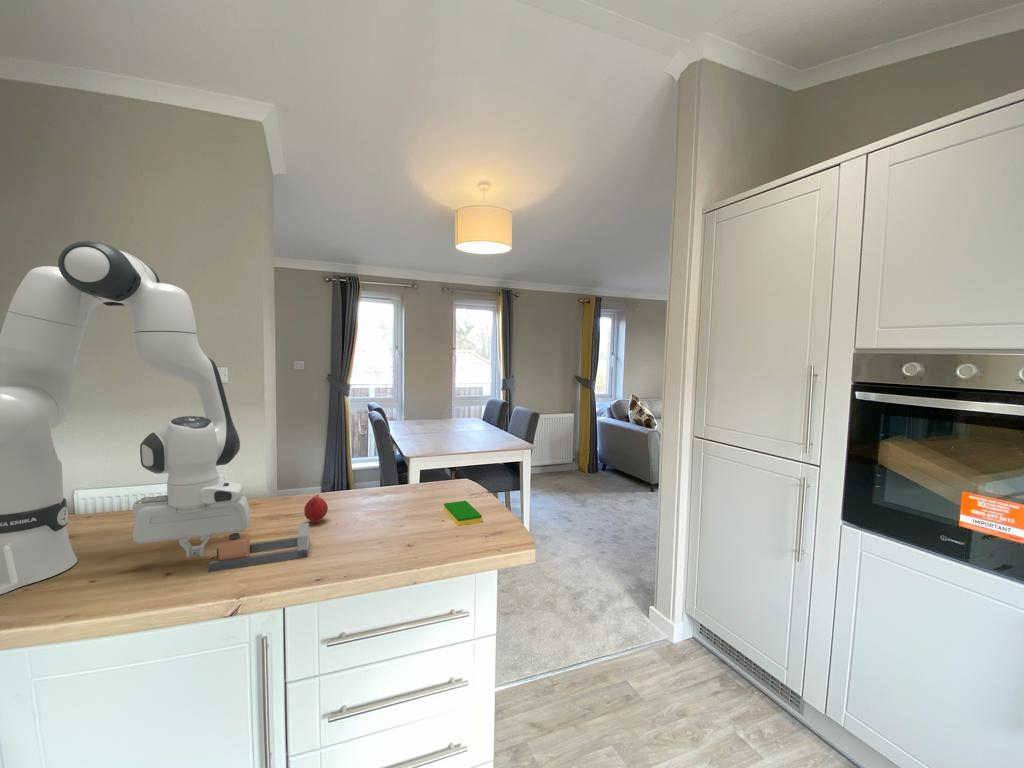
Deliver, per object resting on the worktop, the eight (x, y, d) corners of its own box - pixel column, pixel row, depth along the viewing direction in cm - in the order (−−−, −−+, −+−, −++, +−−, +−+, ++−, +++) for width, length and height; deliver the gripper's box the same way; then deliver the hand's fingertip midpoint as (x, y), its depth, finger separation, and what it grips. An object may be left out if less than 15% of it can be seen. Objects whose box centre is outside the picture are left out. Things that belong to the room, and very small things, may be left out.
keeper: (218, 567, 91) (218, 540, 91) (224, 556, 96) (223, 531, 95) (245, 563, 93) (245, 537, 93) (249, 553, 97) (249, 528, 97)
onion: (318, 527, 113) (318, 498, 112) (299, 525, 114) (299, 496, 113) (331, 519, 118) (331, 491, 118) (313, 517, 120) (313, 490, 119)
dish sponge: (465, 507, 131) (465, 500, 131) (482, 523, 119) (482, 515, 119) (443, 510, 128) (443, 503, 128) (457, 527, 116) (457, 519, 115)
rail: (208, 572, 89) (208, 549, 89) (217, 555, 96) (217, 534, 96) (307, 556, 96) (307, 535, 96) (309, 542, 104) (308, 522, 103)
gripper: (125, 503, 83) (128, 571, 84) (246, 491, 91) (247, 553, 92) (138, 493, 89) (141, 557, 90) (251, 483, 97) (252, 542, 98)
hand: (195, 555), depth 91 cm, fingers closed
